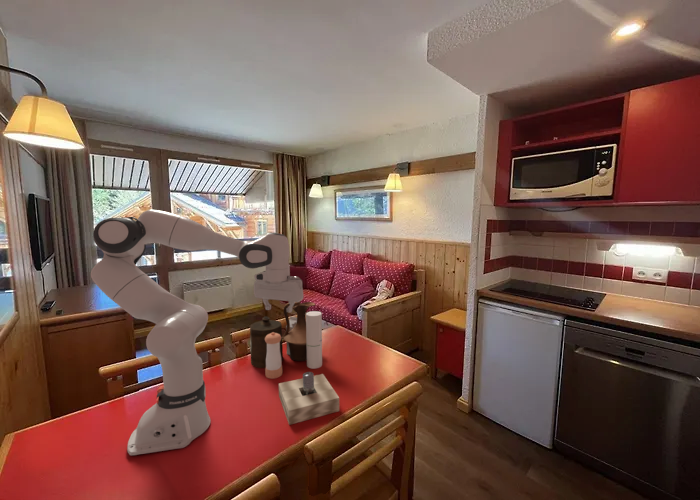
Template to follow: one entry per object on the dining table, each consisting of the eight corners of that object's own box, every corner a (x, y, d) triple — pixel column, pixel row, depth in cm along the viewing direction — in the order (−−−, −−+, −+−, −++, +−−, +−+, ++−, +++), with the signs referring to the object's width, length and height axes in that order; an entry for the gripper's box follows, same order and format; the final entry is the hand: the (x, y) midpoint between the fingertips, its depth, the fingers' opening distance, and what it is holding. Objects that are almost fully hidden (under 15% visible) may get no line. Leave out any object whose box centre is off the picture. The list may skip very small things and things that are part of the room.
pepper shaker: (285, 374, 131) (284, 332, 129) (271, 380, 125) (270, 337, 123) (275, 368, 136) (274, 328, 134) (262, 375, 130) (260, 332, 128)
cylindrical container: (324, 363, 140) (324, 312, 138) (317, 370, 134) (316, 316, 132) (312, 360, 143) (311, 310, 141) (303, 367, 137) (303, 314, 135)
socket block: (289, 424, 98) (288, 410, 98) (278, 395, 115) (278, 383, 114) (339, 410, 105) (339, 397, 105) (323, 385, 122) (322, 373, 121)
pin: (305, 404, 107) (304, 378, 106) (302, 399, 111) (301, 373, 110) (316, 401, 109) (315, 375, 108) (312, 396, 112) (311, 370, 112)
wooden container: (264, 352, 153) (263, 310, 150) (288, 357, 147) (287, 314, 145) (244, 365, 139) (242, 319, 137) (269, 371, 133) (268, 324, 131)
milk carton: (294, 349, 156) (294, 314, 154) (306, 352, 153) (305, 316, 151) (286, 355, 149) (285, 318, 147) (298, 357, 146) (297, 320, 144)
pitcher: (280, 365, 137) (279, 307, 135) (284, 349, 154) (283, 297, 152) (318, 363, 140) (318, 305, 137) (318, 348, 156) (317, 296, 154)
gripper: (306, 275, 112) (306, 311, 113) (261, 272, 119) (262, 306, 120) (297, 278, 106) (298, 316, 107) (250, 275, 113) (251, 310, 114)
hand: (278, 310), depth 114 cm, fingers open, 8 cm apart
